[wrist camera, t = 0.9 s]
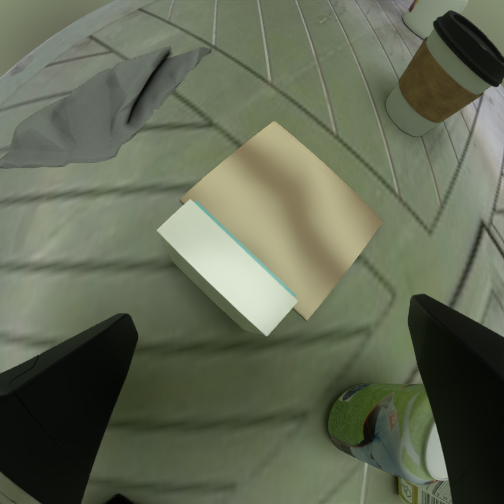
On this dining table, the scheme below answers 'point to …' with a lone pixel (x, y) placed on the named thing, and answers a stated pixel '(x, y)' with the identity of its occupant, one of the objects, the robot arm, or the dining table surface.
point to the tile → (225, 269)
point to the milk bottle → (429, 14)
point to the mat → (289, 213)
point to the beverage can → (389, 430)
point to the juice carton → (424, 492)
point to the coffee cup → (444, 75)
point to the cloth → (99, 112)
